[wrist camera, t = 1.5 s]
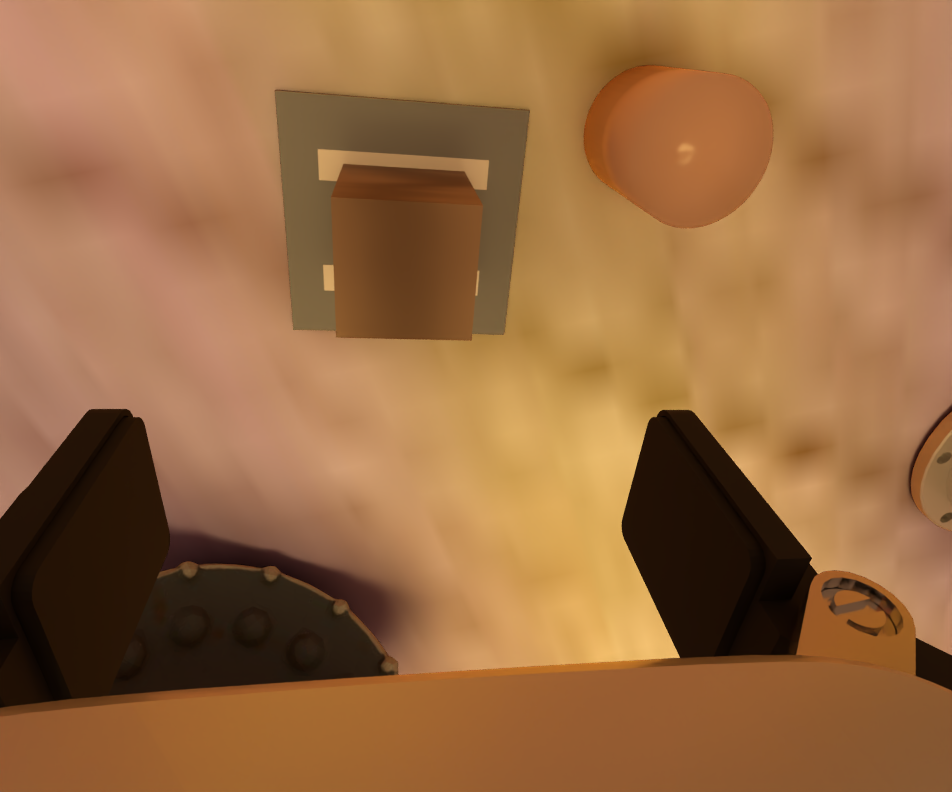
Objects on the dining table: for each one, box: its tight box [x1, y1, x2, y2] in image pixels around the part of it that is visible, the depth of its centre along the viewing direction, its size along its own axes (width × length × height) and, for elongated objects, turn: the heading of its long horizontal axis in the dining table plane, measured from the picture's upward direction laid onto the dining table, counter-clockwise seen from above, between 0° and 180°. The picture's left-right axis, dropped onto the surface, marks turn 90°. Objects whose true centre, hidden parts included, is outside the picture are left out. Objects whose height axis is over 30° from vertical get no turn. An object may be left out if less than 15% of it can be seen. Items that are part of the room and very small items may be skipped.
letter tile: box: [275, 90, 530, 335], centre depth 27 cm, size 10×10×1 cm
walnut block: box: [331, 164, 483, 340], centre depth 24 cm, size 5×5×6 cm
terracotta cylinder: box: [584, 65, 773, 228], centre depth 23 cm, size 5×5×6 cm
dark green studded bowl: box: [108, 561, 398, 696], centre depth 29 cm, size 11×20×20 cm, turn 62°
